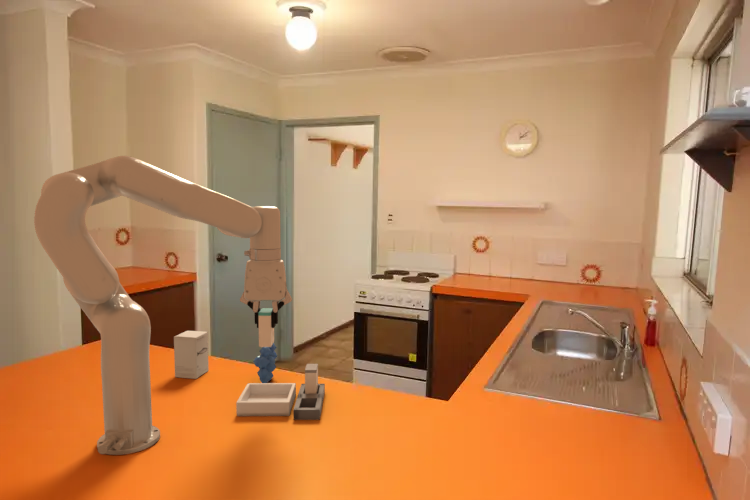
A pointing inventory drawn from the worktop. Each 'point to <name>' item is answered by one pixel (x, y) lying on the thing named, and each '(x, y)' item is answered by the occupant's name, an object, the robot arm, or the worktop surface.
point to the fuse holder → (309, 404)
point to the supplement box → (191, 354)
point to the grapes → (266, 363)
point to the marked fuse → (265, 328)
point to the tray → (266, 399)
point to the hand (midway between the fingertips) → (266, 325)
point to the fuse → (311, 379)
